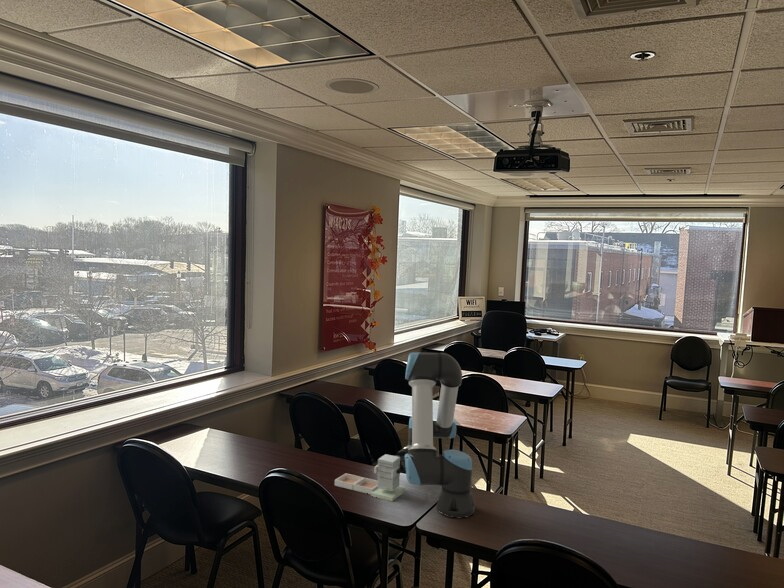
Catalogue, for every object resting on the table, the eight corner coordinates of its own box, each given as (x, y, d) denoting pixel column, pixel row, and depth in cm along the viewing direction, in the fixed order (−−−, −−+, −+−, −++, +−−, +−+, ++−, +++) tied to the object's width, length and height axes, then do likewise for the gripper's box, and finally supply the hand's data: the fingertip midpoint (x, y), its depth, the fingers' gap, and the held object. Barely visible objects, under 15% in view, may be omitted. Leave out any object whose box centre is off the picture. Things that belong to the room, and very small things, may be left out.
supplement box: (384, 482, 241) (385, 453, 240) (399, 485, 238) (400, 456, 237) (376, 488, 234) (377, 458, 233) (392, 491, 231) (393, 462, 230)
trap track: (404, 491, 239) (404, 485, 239) (392, 501, 228) (392, 495, 228) (347, 477, 252) (347, 472, 252) (332, 486, 241) (333, 481, 241)
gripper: (427, 468, 247) (405, 486, 227) (386, 459, 256) (362, 476, 236) (427, 452, 247) (405, 468, 226) (387, 444, 256) (362, 458, 235)
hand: (383, 472), depth 231 cm, fingers closed on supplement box, 7 cm apart
